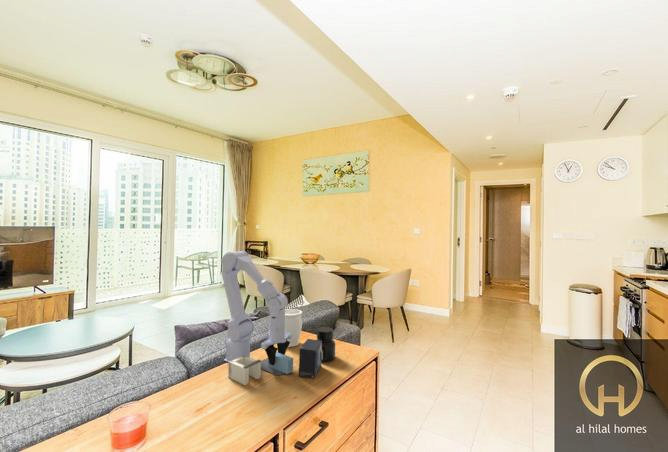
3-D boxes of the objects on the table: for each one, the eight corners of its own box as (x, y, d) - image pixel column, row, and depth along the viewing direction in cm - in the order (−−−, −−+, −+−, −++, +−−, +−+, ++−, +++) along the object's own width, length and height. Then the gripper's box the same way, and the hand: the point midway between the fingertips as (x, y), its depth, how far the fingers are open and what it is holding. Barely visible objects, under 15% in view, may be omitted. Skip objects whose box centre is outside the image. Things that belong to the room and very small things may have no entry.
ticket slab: (268, 366, 122) (268, 353, 122) (273, 364, 125) (274, 351, 125) (287, 374, 117) (287, 360, 117) (292, 371, 119) (293, 357, 119)
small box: (315, 379, 114) (315, 350, 114) (297, 377, 115) (298, 348, 115) (322, 366, 124) (322, 339, 124) (306, 364, 126) (306, 338, 126)
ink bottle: (312, 354, 136) (312, 326, 136) (332, 352, 138) (332, 325, 138) (316, 364, 127) (316, 333, 127) (337, 362, 129) (338, 332, 129)
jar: (275, 347, 143) (276, 313, 143) (282, 339, 153) (283, 307, 153) (298, 349, 141) (298, 315, 141) (304, 340, 152) (304, 309, 151)
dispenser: (228, 377, 114) (228, 360, 114) (243, 370, 120) (244, 353, 120) (245, 385, 109) (245, 367, 109) (260, 377, 114) (260, 360, 114)
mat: (252, 365, 124) (252, 364, 124) (267, 358, 130) (267, 357, 130) (278, 376, 116) (278, 375, 116) (293, 368, 122) (293, 367, 122)
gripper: (270, 334, 114) (270, 372, 114) (297, 324, 125) (296, 358, 125) (257, 330, 118) (256, 366, 118) (284, 320, 129) (283, 354, 129)
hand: (276, 362), depth 122 cm, fingers open, 4 cm apart
